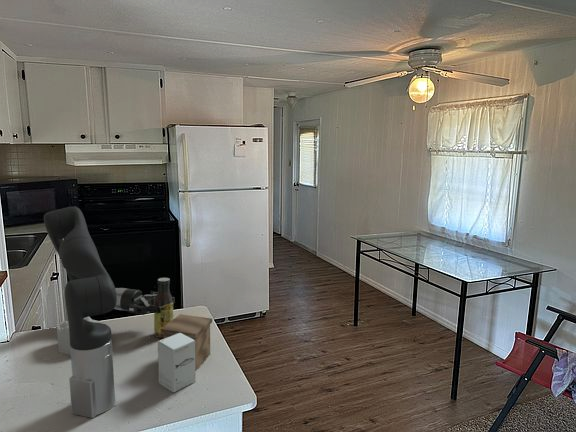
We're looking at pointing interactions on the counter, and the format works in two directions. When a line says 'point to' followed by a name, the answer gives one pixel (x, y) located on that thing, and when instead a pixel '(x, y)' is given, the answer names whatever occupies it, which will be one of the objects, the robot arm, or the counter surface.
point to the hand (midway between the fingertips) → (167, 305)
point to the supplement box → (176, 361)
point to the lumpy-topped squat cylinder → (66, 335)
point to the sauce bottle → (163, 306)
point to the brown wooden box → (192, 334)
